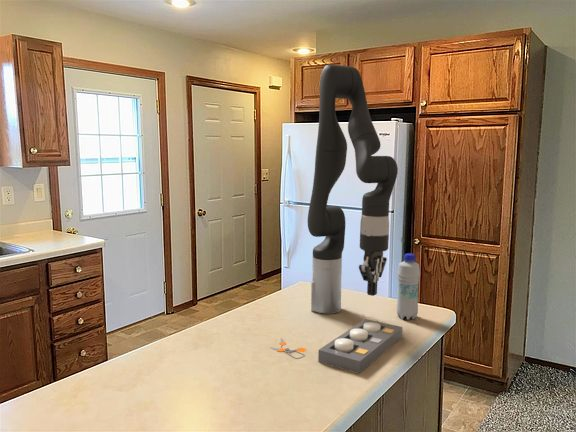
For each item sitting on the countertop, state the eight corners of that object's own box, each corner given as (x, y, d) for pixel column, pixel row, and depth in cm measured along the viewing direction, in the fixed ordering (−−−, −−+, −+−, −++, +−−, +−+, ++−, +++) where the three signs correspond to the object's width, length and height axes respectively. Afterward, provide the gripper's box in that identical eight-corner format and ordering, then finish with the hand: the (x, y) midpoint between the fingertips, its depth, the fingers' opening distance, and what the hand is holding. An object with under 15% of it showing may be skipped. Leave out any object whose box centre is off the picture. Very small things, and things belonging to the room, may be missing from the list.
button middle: (362, 344, 121) (362, 336, 121) (346, 340, 124) (346, 332, 123) (370, 338, 125) (370, 331, 125) (354, 334, 127) (354, 327, 127)
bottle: (416, 313, 150) (418, 251, 147) (420, 321, 143) (422, 256, 141) (394, 313, 151) (396, 250, 148) (397, 320, 144) (399, 255, 141)
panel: (359, 373, 110) (359, 360, 110) (318, 361, 116) (318, 349, 116) (401, 337, 131) (402, 326, 131) (365, 328, 138) (365, 318, 137)
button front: (348, 355, 115) (348, 347, 114) (331, 350, 117) (331, 342, 117) (356, 348, 118) (356, 341, 118) (340, 344, 121) (340, 336, 121)
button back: (376, 336, 128) (376, 329, 127) (360, 333, 130) (360, 326, 130) (383, 331, 131) (383, 324, 131) (367, 327, 134) (367, 321, 134)
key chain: (315, 353, 122) (315, 350, 122) (293, 362, 117) (293, 358, 117) (283, 338, 131) (283, 335, 131) (261, 345, 127) (261, 342, 126)
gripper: (372, 226, 134) (369, 286, 137) (350, 233, 124) (348, 298, 126) (397, 229, 130) (394, 291, 133) (377, 237, 119) (374, 304, 122)
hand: (371, 294), depth 130 cm, fingers closed
